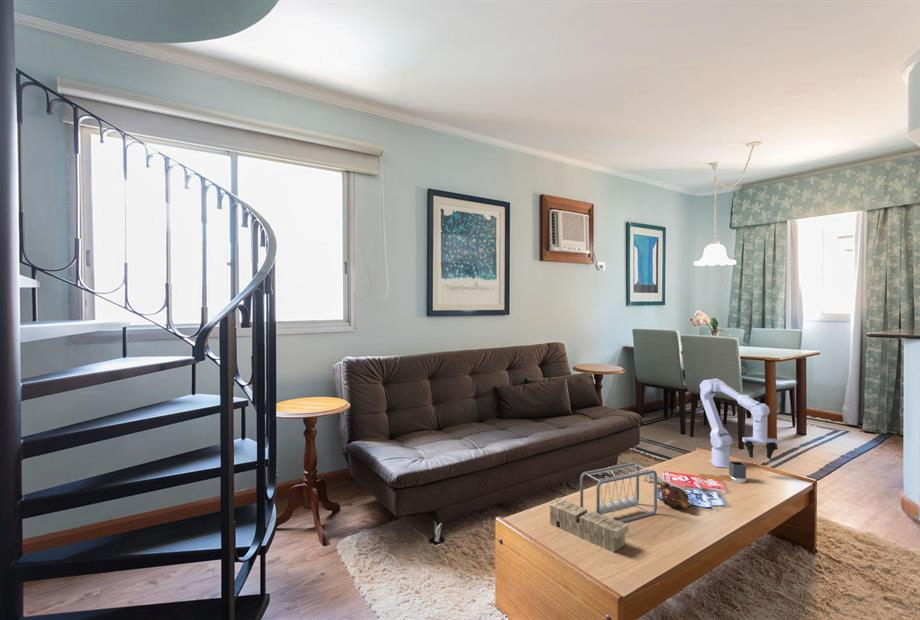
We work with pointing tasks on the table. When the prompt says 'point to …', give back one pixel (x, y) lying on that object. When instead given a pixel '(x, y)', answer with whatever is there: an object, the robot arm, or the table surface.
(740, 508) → the table surface
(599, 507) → the newton's cradle
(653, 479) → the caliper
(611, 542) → the block tower
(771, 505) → the table surface
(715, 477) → the ratchet
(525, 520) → the table surface
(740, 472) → the hollow square tube
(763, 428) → the robot arm
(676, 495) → the decorative turtle
